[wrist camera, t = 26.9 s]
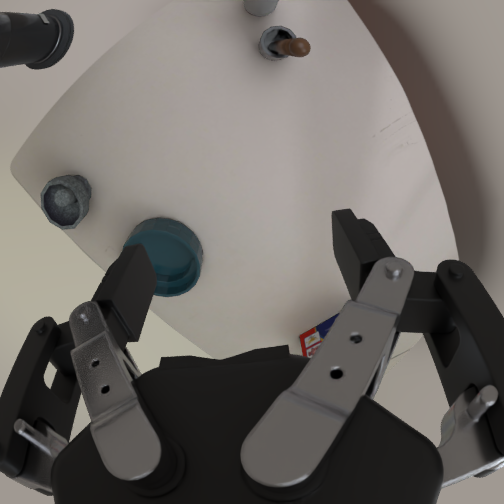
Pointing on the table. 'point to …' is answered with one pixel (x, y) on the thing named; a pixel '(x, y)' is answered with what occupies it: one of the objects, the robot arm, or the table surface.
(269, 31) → the crock
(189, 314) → the table surface
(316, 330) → the toy box
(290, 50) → the stick
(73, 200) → the mortar and pestle
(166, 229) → the bowl
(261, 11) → the beverage can
